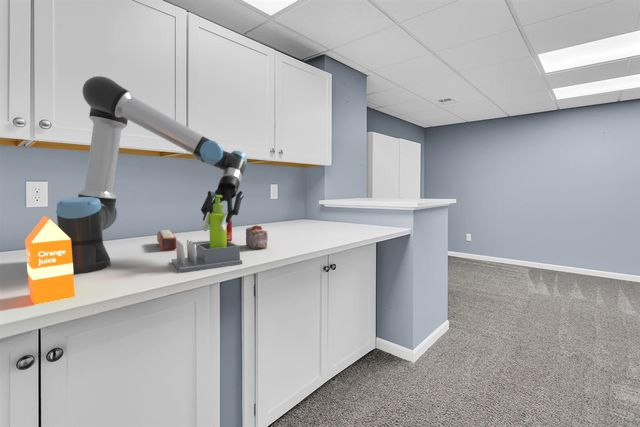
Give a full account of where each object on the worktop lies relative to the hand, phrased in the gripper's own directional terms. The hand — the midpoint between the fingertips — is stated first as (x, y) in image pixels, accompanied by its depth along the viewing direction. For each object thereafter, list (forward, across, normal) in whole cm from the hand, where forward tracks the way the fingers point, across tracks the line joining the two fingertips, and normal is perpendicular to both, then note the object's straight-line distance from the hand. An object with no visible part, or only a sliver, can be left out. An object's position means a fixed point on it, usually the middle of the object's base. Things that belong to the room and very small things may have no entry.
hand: (213, 228), depth 111 cm
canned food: (-22, +15, -41) cm, 49 cm away
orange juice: (+34, +26, +16) cm, 46 cm away
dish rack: (+8, +3, -10) cm, 13 cm away
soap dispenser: (+3, 0, -9) cm, 9 cm away
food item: (-13, -5, -32) cm, 35 cm away
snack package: (-10, +35, -29) cm, 46 cm away
